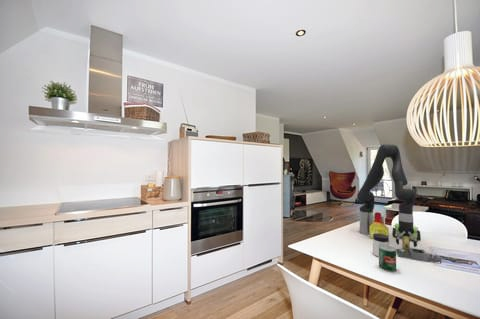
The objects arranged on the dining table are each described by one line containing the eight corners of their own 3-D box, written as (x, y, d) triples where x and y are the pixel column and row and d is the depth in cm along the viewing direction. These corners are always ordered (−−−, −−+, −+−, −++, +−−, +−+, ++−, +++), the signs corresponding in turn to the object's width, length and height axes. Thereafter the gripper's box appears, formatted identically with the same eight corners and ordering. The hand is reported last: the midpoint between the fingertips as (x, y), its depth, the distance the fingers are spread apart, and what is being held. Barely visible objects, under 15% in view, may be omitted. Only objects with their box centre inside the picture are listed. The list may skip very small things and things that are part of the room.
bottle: (368, 238, 160) (368, 211, 160) (370, 236, 164) (370, 210, 164) (387, 243, 151) (387, 214, 151) (389, 240, 155) (389, 213, 155)
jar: (374, 257, 130) (374, 237, 130) (370, 251, 138) (370, 232, 138) (391, 259, 127) (391, 238, 127) (387, 253, 135) (386, 234, 135)
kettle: (417, 243, 149) (417, 227, 149) (392, 238, 159) (392, 223, 159) (419, 238, 160) (419, 223, 160) (396, 233, 170) (396, 219, 170)
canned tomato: (390, 273, 112) (390, 252, 112) (375, 266, 119) (375, 246, 119) (399, 269, 115) (399, 249, 115) (384, 263, 122) (384, 244, 122)
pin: (403, 252, 136) (402, 236, 136) (401, 249, 140) (401, 234, 140) (410, 253, 135) (410, 237, 135) (409, 250, 138) (408, 235, 138)
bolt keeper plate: (398, 257, 129) (398, 250, 129) (396, 252, 136) (396, 245, 136) (441, 264, 120) (441, 256, 120) (436, 258, 127) (436, 251, 127)
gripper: (393, 220, 137) (393, 245, 137) (421, 223, 131) (422, 249, 131) (391, 217, 144) (391, 241, 144) (418, 219, 137) (418, 245, 137)
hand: (406, 245), depth 137 cm, fingers open, 8 cm apart
